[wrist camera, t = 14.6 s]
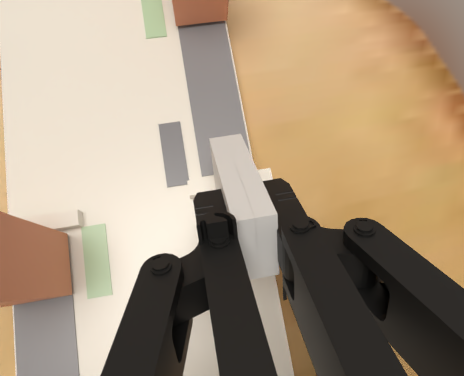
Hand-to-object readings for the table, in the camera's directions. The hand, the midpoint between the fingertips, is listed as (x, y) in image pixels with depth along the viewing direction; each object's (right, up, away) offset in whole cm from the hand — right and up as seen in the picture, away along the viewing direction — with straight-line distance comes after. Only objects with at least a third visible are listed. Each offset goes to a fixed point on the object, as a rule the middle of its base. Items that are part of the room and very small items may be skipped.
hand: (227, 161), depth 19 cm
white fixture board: (-5, -3, +4) cm, 7 cm away
